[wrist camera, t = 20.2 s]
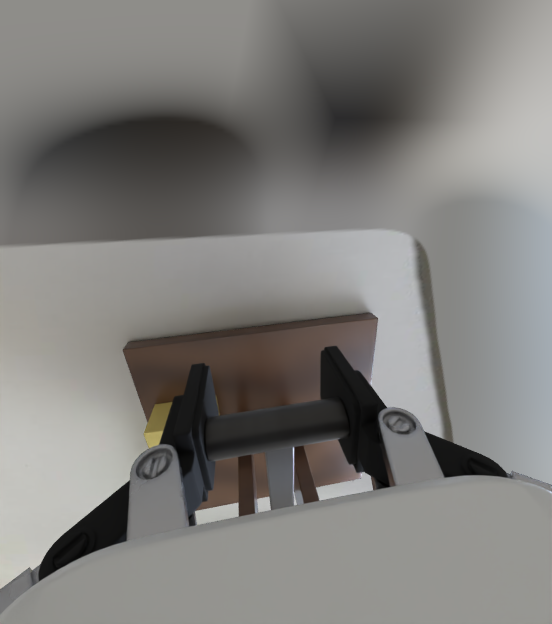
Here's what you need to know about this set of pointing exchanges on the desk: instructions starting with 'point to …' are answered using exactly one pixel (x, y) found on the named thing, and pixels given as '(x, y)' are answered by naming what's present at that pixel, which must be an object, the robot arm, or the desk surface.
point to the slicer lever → (276, 438)
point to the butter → (158, 423)
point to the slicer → (258, 391)
